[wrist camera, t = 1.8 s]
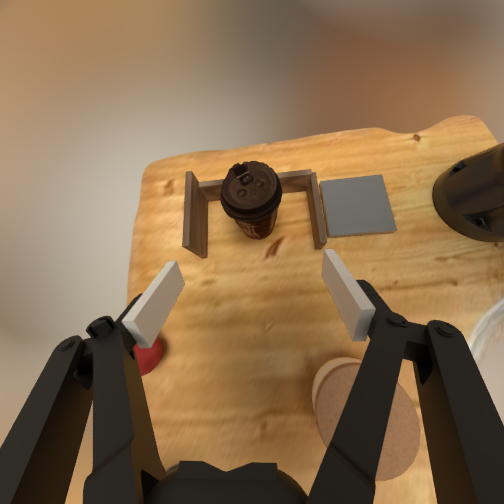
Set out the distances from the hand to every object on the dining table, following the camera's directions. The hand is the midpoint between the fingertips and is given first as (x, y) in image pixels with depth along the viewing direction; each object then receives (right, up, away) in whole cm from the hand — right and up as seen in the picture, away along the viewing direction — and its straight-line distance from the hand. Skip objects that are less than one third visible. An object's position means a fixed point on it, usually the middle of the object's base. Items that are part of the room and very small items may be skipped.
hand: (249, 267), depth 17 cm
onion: (-16, -15, +15) cm, 27 cm away
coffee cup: (+1, +7, +19) cm, 20 cm away
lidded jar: (+14, -19, +11) cm, 26 cm away
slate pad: (+19, +10, +18) cm, 28 cm away
